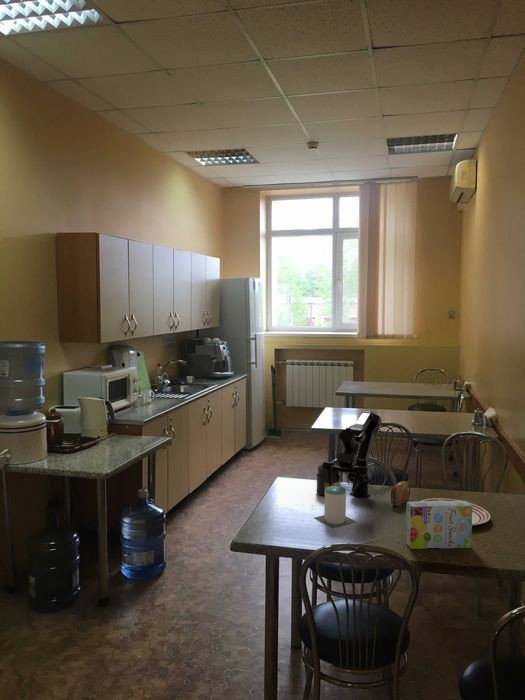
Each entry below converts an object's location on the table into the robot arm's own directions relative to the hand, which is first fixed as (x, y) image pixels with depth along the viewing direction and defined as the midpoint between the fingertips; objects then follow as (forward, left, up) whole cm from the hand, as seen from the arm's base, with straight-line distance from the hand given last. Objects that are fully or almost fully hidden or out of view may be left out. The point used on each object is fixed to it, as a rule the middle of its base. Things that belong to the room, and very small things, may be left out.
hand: (341, 489), depth 220 cm
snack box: (+39, +11, -11) cm, 42 cm away
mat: (+4, -6, -10) cm, 12 cm away
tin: (+2, +30, -11) cm, 32 cm away
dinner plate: (+24, +36, -11) cm, 45 cm away
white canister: (+4, -6, -10) cm, 12 cm away
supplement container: (-22, +11, -11) cm, 27 cm away
